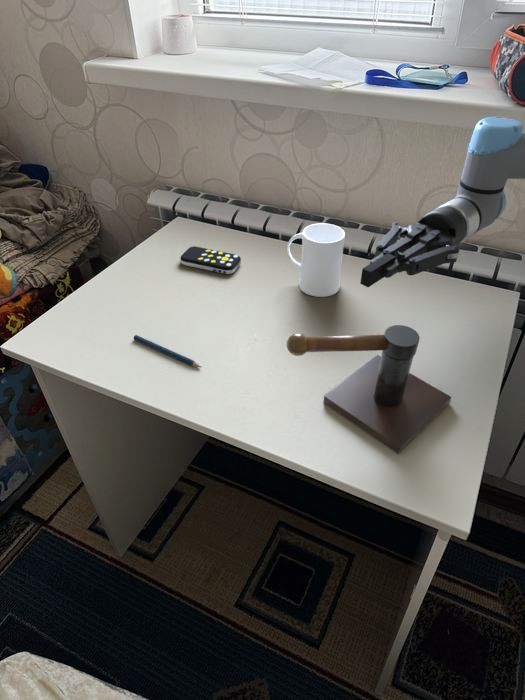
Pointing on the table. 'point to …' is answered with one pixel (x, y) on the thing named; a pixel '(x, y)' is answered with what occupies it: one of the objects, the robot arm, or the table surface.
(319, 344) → the handle
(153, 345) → the pencil
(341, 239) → the mug
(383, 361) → the valve stand
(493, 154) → the robot arm
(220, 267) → the remote control
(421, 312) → the table surface
